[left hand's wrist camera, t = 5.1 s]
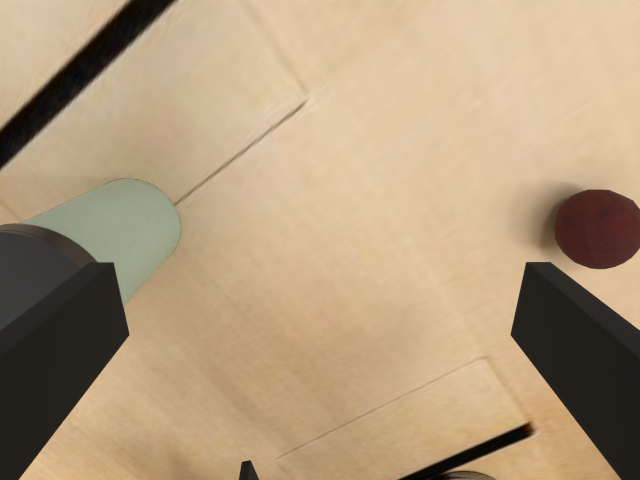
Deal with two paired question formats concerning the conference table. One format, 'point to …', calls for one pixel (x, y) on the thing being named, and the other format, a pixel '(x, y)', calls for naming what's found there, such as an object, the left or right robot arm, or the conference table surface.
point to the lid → (34, 266)
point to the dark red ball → (598, 228)
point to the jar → (120, 228)
